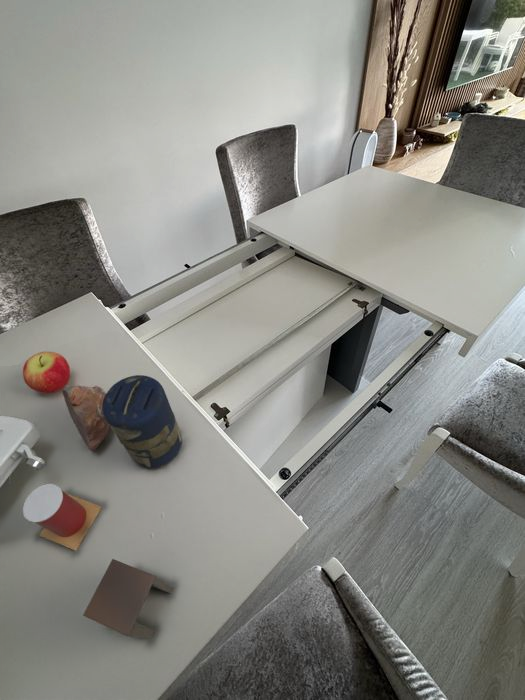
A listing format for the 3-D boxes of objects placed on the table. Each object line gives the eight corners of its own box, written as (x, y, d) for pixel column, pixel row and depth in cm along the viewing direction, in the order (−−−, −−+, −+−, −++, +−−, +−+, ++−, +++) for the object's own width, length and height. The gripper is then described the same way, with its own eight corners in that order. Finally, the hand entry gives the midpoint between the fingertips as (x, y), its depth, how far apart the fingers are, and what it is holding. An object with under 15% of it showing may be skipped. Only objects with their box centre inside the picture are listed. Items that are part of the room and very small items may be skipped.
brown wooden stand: (152, 638, 47) (127, 636, 39) (114, 621, 48) (82, 615, 40) (173, 587, 51) (154, 575, 42) (137, 572, 52) (112, 558, 44)
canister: (121, 460, 64) (82, 409, 50) (150, 417, 69) (122, 361, 56) (166, 479, 61) (137, 431, 48) (192, 433, 67) (173, 378, 53)
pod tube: (73, 542, 54) (45, 527, 47) (46, 531, 55) (14, 515, 48) (93, 508, 57) (69, 489, 50) (67, 499, 58) (40, 479, 52)
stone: (69, 413, 70) (46, 385, 62) (109, 391, 73) (91, 361, 66) (94, 459, 64) (70, 434, 56) (136, 433, 67) (119, 405, 60)
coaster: (76, 551, 54) (74, 550, 54) (40, 536, 55) (38, 535, 55) (102, 507, 58) (100, 506, 58) (68, 494, 60) (66, 493, 59)
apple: (63, 403, 72) (39, 374, 64) (27, 397, 73) (-1, 367, 65) (84, 372, 77) (64, 342, 69) (50, 366, 78) (27, 336, 70)
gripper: (-134, 528, 47) (-56, 565, 44) (-13, 404, 59) (54, 426, 56) (-97, 539, 51) (-24, 573, 49) (8, 422, 64) (70, 443, 61)
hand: (18, 493), depth 53 cm, fingers open, 8 cm apart
